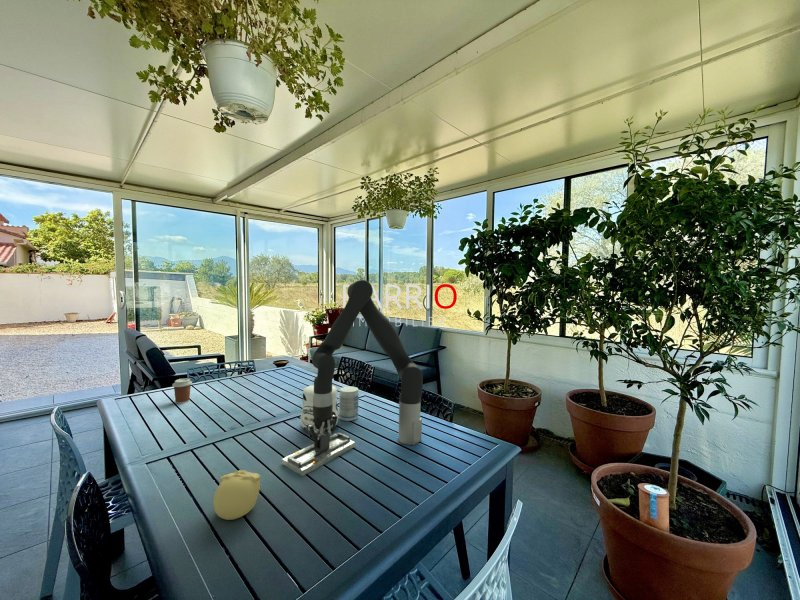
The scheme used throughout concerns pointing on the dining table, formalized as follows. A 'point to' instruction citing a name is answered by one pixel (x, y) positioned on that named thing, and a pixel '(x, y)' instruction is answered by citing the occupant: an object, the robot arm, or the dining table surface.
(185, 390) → the coffee cup
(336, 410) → the milk container
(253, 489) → the yellow rounded piece
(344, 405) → the supplement tub
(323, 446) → the fader knob
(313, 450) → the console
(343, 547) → the dining table surface
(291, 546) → the dining table surface
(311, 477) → the dining table surface
